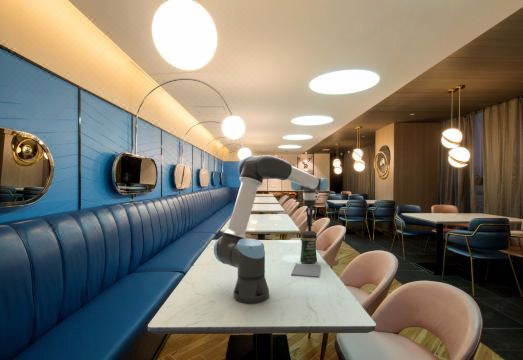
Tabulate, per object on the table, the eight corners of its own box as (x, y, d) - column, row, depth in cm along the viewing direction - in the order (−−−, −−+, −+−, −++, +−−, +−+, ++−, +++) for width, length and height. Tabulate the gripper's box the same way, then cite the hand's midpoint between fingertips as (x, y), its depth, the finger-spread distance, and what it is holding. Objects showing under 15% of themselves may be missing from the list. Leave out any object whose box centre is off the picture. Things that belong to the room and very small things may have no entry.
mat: (318, 277, 134) (318, 276, 134) (291, 275, 138) (291, 274, 138) (320, 266, 152) (320, 265, 152) (295, 264, 155) (295, 263, 155)
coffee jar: (302, 264, 155) (302, 232, 155) (299, 260, 163) (298, 230, 163) (318, 263, 156) (318, 232, 156) (314, 259, 164) (314, 229, 164)
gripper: (314, 200, 162) (315, 239, 162) (316, 198, 175) (316, 234, 175) (302, 200, 164) (302, 238, 164) (304, 198, 177) (304, 234, 177)
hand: (309, 236), depth 169 cm, fingers closed
